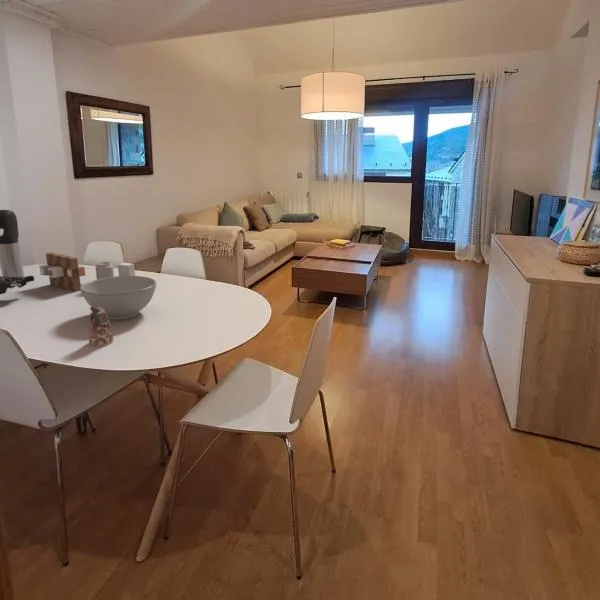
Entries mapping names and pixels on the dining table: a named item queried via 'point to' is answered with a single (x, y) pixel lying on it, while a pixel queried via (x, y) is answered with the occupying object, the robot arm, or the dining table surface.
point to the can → (104, 270)
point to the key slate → (45, 269)
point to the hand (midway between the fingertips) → (33, 278)
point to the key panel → (65, 271)
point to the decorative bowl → (119, 295)
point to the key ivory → (55, 271)
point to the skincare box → (126, 269)
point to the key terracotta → (81, 271)
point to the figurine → (99, 328)
